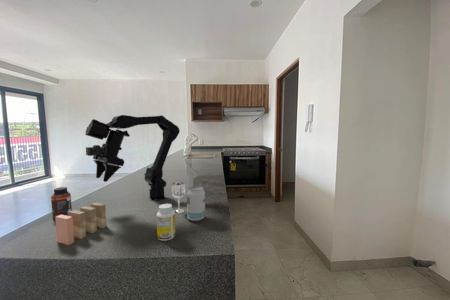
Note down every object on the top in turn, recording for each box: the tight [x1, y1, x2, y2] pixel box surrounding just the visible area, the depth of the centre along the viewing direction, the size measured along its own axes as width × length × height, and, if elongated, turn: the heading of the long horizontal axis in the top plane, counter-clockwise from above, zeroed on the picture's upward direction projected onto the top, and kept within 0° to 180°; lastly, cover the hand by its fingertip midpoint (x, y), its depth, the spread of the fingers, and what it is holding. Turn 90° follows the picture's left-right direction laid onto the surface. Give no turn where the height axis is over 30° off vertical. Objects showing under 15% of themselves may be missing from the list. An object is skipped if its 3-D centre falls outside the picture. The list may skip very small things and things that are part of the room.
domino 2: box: [68, 209, 87, 240], centre depth 61 cm, size 2×5×8 cm, turn 71°
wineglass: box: [171, 181, 187, 214], centre depth 81 cm, size 6×6×12 cm
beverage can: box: [186, 185, 206, 222], centre depth 74 cm, size 7×7×12 cm
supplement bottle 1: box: [50, 186, 73, 219], centre depth 76 cm, size 6×6×11 cm
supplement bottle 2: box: [156, 203, 176, 242], centre depth 61 cm, size 6×6×10 cm
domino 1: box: [54, 215, 75, 246], centre depth 58 cm, size 2×5×8 cm, turn 71°
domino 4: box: [90, 202, 108, 229], centre depth 68 cm, size 2×5×8 cm, turn 71°
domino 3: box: [79, 205, 98, 234], centre depth 65 cm, size 2×5×8 cm, turn 71°
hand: (101, 179), depth 79 cm, fingers open, 9 cm apart
